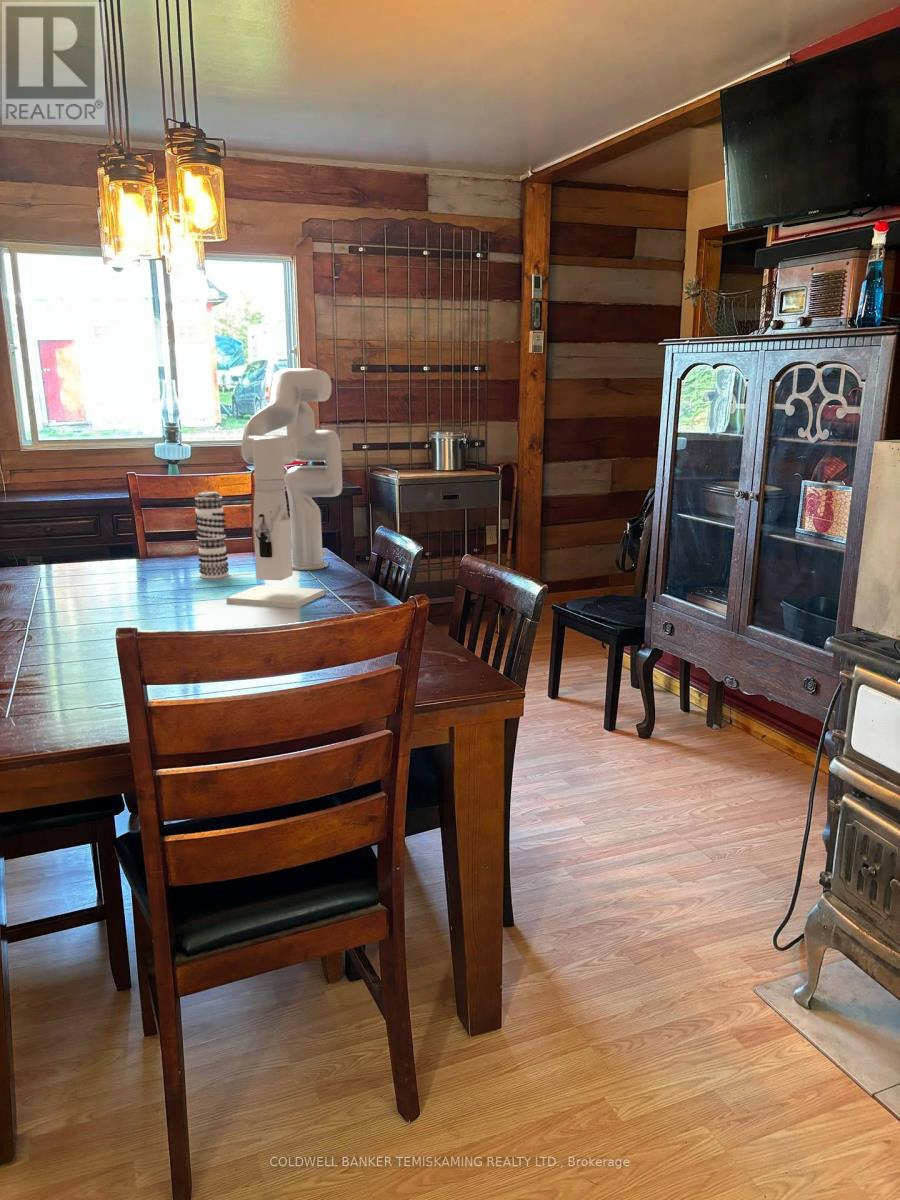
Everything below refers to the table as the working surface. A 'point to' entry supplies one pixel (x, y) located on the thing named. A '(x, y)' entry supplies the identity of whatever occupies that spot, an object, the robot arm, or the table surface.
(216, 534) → the decorative candle
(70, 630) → the table surface
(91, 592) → the table surface
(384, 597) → the table surface
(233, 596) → the serving board
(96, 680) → the table surface
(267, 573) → the milk carton
